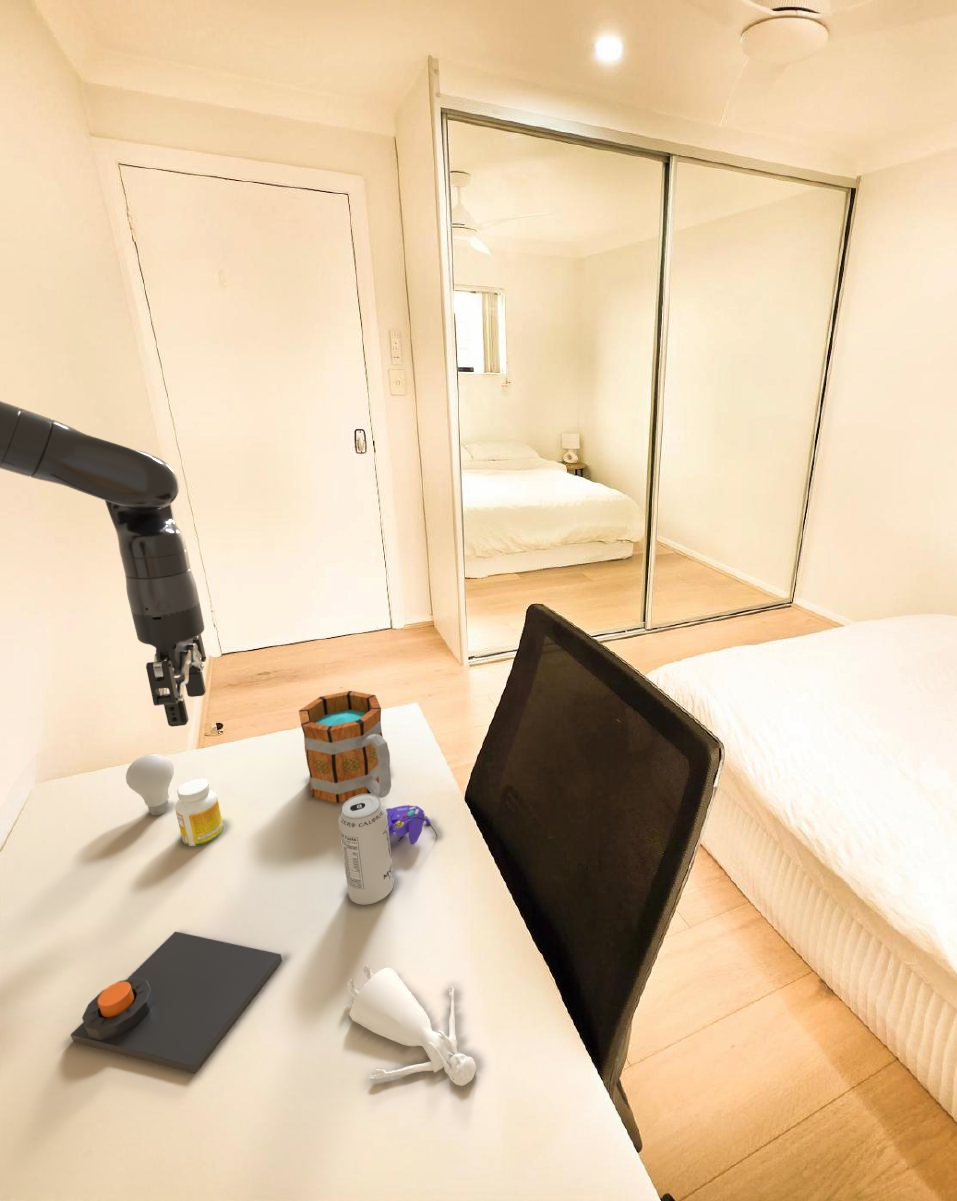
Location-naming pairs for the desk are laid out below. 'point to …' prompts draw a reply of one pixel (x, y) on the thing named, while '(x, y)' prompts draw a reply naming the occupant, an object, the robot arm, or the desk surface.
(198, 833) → the supplement bottle
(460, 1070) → the woman figurine
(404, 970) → the desk surface
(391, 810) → the game controller
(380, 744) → the mug
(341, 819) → the energy drink can
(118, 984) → the button
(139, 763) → the lightbulb
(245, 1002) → the scale
